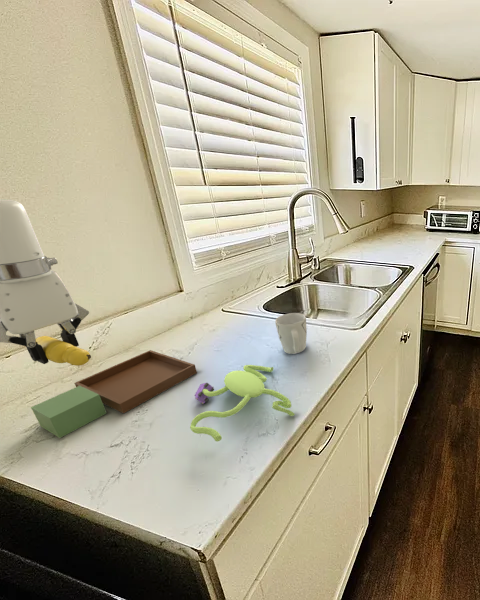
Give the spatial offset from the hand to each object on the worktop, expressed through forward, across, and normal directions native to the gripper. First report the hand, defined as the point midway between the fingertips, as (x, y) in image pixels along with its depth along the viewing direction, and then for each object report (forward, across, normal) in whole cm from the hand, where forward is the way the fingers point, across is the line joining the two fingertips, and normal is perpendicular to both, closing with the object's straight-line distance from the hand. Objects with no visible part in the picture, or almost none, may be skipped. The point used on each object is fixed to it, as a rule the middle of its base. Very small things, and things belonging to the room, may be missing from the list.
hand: (58, 355), depth 66 cm
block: (+15, +2, 0) cm, 15 cm away
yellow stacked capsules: (+1, 0, 0) cm, 1 cm away
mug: (+15, -40, +25) cm, 49 cm away
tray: (+15, -12, -2) cm, 19 cm away
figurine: (+15, -16, +30) cm, 37 cm away
